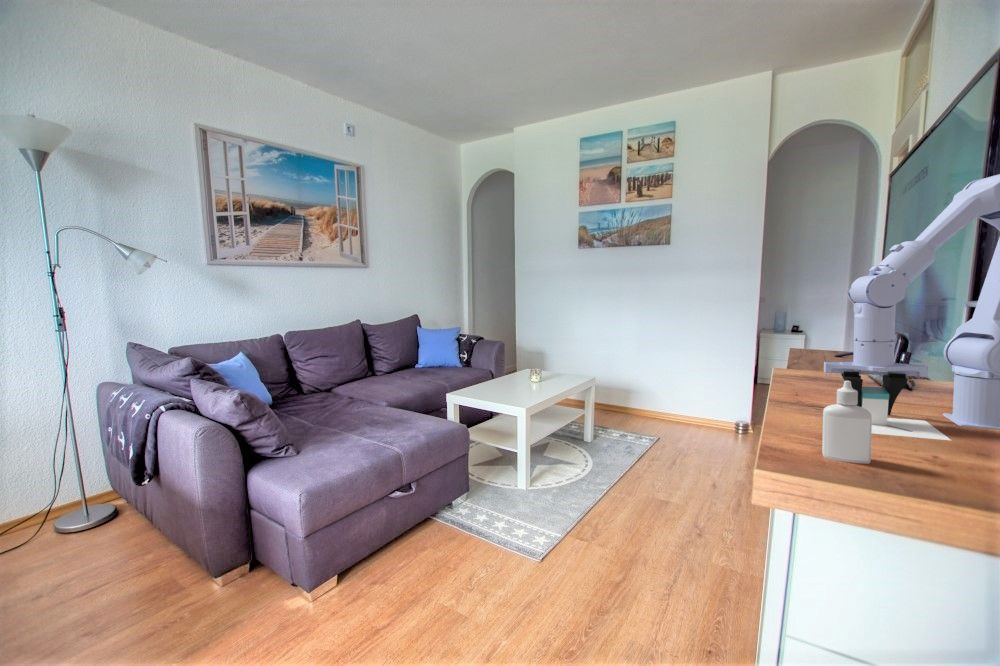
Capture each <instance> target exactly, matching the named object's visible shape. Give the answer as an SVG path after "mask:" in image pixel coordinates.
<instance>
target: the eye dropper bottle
mask: <svg viewBox="0 0 1000 666" xmlns="http://www.w3.org/2000/svg"><path fill="white" fill-rule="evenodd" d="M857 404H858V391H857V390H854V389H853V388H852V386H851V381H844V380H843V386H842V387H841V388H837V390H836V404H829V405H827V406H825V407H824V408H823V411H822V445H821V446H822V447H821V450H822V451H821V453H822V456H823V458H825V459H829V460H833V461H838V462H844V463H851V464H868V465H869V464H870V463H871V461H872V435H873V434H872V416H871V413H870V412H869V411H868V410H867V409H865V408H862V407H859V406H857Z"/></svg>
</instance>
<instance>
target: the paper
mask: <svg viewBox="0 0 1000 666" xmlns="http://www.w3.org/2000/svg"><path fill="white" fill-rule="evenodd" d="M873 434H874V435H883V436H884V435H885V436H895V437H905V438H917V439H918V438H919V439H929V440H939V441H941V440H942V441H953V440H952V439H951V438H949V437H948V436H947V435H945V434H944V433H943V432H941V431H939V429H937V428H935V427H934V426H933V425H932V424H930V423H929V422H927V421H926V420H921V419H909V418H908V419H907V418H897V417H896V418H895V417H894V418H893V417H887V425H875V424H872V434H871V435H873Z"/></svg>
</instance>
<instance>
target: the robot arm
mask: <svg viewBox="0 0 1000 666" xmlns="http://www.w3.org/2000/svg"><path fill="white" fill-rule="evenodd" d="M976 218H978V219H980V220H982V221H983V222H985V223H987V224H989V225H991V226H992V227H995V229H997V231H999V232H1000V173H999V174H994V175H992V176H988V177H985V178H978V179H975V180H972V181H970V182H969V183H968V184H967V185H965V187H963V189H962V190H960V191H958V192H957V193H955V194H954V195H953V199H952V201H951V202H950V203H949V204H948V205H947V207H945V208H944V209H943V211H941V212H940V214H939V215H937V217H936V218H935V219H933V221H932V222H931V223H930V224H929V225H928V226H927V227H926V228H925V229H924V230H923V231H922V232H921V233H920V234H918V235H919V236H917V238H915V239H914V240H908V241H903V242H901V243H900V244H894V245H892V246H891V248H889V252H890V253H889V254H888V255H886V257H884V258H883V260H881V261H880V262H879V263H878V264H877V265H875V266H874V265H873V266H872V267H870V269H869V270H868V271H869V273H868V275H864V276H860V277H858V278H856V279H855V280H854V281H853V282H852V283H851V286H850V288H849V290H847V291H846V296H847V298H848V300H849V302H851V303H852V305H853V313H854V314H853V315H854V316H853V317H854V318H853V321H854V322H853V353H852V354H853V359H852V360H853V361H824V362H823V373H824V374H840V375H841V377H842V379H843V382H844V381H851V386H852V388H853V389H854V390H857V391H858V404H857V406H859V407H862V404H861V391H862V386H863V383H864V379H862V376H861V375H880V376H881V377H882V387H884V388H885V389H886V391H887V392H888V393H889V401H888V416H891V413H892V410H893V406H894V404H895V403H896V400H897V399H898V396H899V395H900V394H901V392H902V391H903V389H904V387H906V386H907V384H908V378H907V376H908V377H919V378H928V376H929V375H928V373H929V372H928V371H929V366H927V365H926V364H912V363H911V364H910V363H900V362H899V363H898V362H895V345H896V344H895V340H896V338H895V337H896V313H897V311H896V308H897V307H896V305H897V304H898V303H900V302H901V301H903V300H904V299H905V297H906V293H907V287H908V286H909V285H910V284H911V283H912V282H913V281H914V280H915V279H916V278H918V277H919V276H920V275H921V274H922V273H923V272H924V271H926V270H927V269H928V268H930V266H931V265H932V264H933V263H934V262H935V261H936V253H935V252H936V250H938V249H939V248H940V247H942V246H943V245H944V244H945V243H947V242H948V241H949V240H950V239H951V238H953V237H954V236H955V235H956V234H958V232H960V231H961V230H963V229H964V227H966V226H968V225H969V224H970V223H971V222H972V221H973V220H974V219H976ZM985 276H986V277H985V279H984V282H983V285H982V288H981V290H980V294H979V296H978V300H977V303H976V306H975V309H974V312H973V314H972V318H970V319H969V320H968V321H966V322H964V323H963V324H962V325H961V324H960V326H958V327H957V328H956V330H955V333H954V335H953V337H952V338H950V340H948V342H947V343H946V344H945V346H944V348H943V358H944V360H945V361H946V363H947V364H948V365H949V366H951V372H953V373H954V374H953V375H954V376H953V394H952V395H953V398H952V399H953V400H952V413H946V412H943V413H942V416H944V417H945V418H947V419H948V420H950V421H951V422H953V423H954V424H956V425H958V426H959V427H965V428H966V427H967V428H980V429H992V430H1000V236H999V238H998V241H997V243H996V246H995V249H994V251H993V256H992V257H991V262H990V264H989V266H988V269H987V273H986V275H985Z"/></svg>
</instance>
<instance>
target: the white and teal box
mask: <svg viewBox="0 0 1000 666" xmlns="http://www.w3.org/2000/svg"><path fill="white" fill-rule="evenodd" d="M888 401H889V393H888V392H887V391H886V389H885V388H884V387H883V386H882V387H881V386H880V387H879V386H864V385H862V391H861V404H862V408H865V409H867V410H868V411H869V412H870V413H871V416H872V424H875V425H887V418H889V417H888V416H889V415H888Z"/></svg>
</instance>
